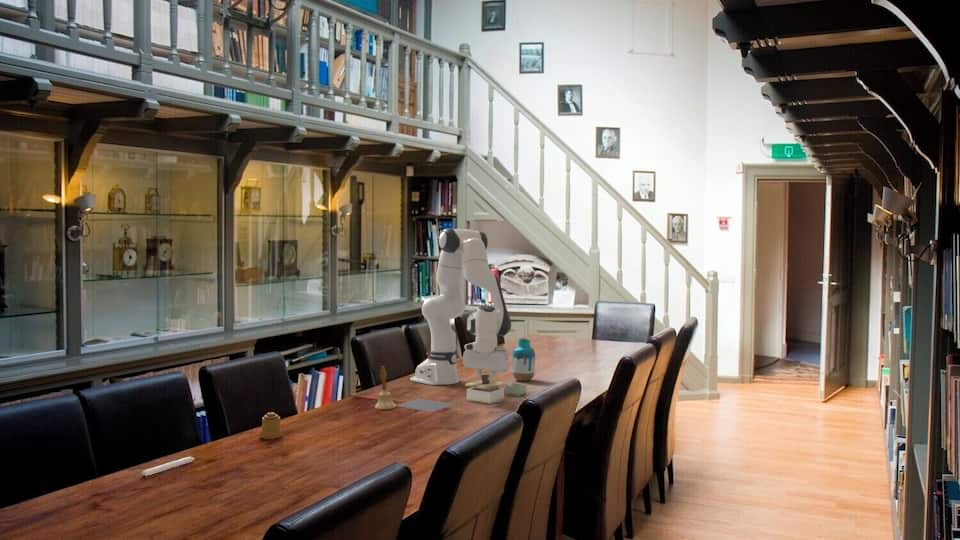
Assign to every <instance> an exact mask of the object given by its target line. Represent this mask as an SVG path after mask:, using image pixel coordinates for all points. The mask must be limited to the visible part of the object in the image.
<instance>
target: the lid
mask: <svg viewBox="0 0 960 540" xmlns="http://www.w3.org/2000/svg"><path fill="white" fill-rule="evenodd" d="M489 376H490V374H482V380H479V379H477V380H473V381H470V382H466V383H465V384H464V386H465V387H470V388H472V387H477V388H484V389H494V388H497V387H503V386H506V382H504V381H497V380H496V381H495V380H493V381H488V377H489Z"/></svg>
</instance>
